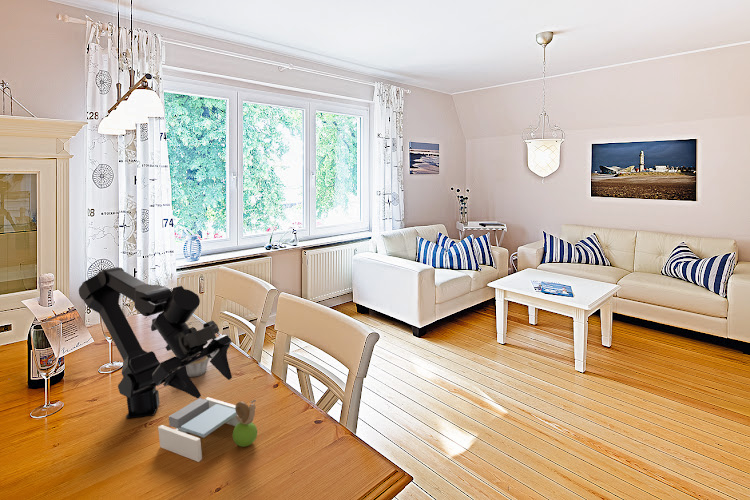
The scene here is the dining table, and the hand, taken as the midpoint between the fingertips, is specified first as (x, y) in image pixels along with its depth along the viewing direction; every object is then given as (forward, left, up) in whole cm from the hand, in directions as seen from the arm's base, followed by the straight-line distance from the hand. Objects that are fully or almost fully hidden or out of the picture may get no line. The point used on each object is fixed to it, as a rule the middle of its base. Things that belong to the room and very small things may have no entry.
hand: (215, 387), depth 97 cm
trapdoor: (-4, +3, -10) cm, 11 cm away
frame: (-4, +3, -14) cm, 15 cm away
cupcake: (-11, +39, -14) cm, 43 cm away
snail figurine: (+6, -3, -14) cm, 15 cm away
